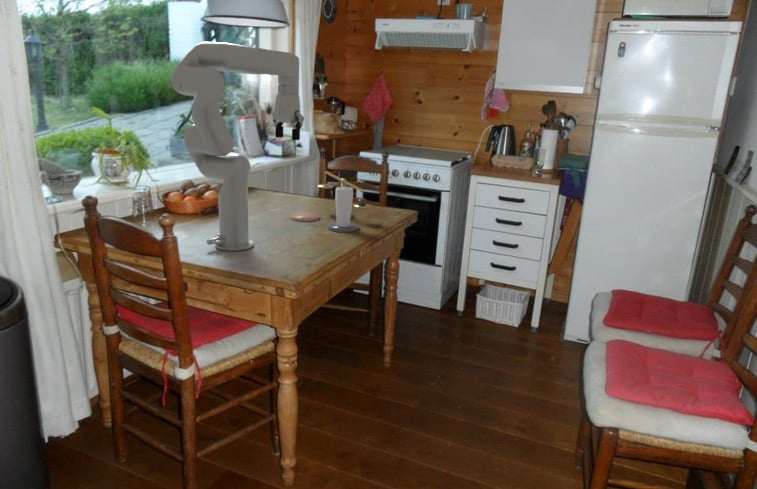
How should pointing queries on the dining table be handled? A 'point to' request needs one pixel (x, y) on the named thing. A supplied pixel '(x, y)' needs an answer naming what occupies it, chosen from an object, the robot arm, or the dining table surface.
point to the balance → (361, 202)
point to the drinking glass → (343, 205)
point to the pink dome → (304, 216)
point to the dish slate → (342, 228)
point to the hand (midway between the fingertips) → (287, 138)
